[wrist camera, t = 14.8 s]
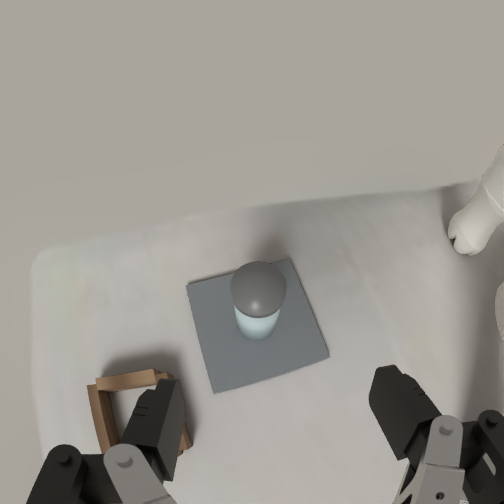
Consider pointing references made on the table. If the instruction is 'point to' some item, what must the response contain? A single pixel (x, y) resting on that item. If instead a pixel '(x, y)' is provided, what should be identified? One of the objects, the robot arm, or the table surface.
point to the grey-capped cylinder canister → (257, 298)
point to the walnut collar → (104, 411)
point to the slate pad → (253, 351)
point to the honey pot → (500, 309)
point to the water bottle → (480, 211)
